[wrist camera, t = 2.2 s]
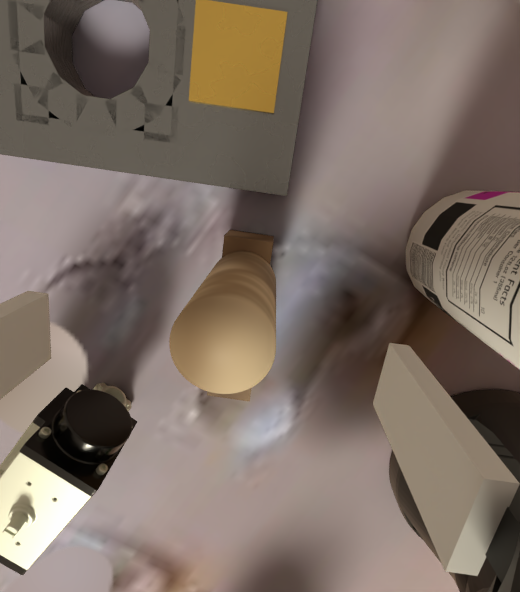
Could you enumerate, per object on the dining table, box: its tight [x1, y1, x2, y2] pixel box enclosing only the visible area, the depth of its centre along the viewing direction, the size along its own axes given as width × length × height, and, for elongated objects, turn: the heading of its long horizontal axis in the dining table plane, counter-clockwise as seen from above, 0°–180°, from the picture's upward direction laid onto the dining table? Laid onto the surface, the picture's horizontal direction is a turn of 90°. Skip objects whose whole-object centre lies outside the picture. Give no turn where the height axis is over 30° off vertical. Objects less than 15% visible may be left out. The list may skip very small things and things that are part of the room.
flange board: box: [0, 0, 317, 196], centre depth 22 cm, size 20×14×3 cm
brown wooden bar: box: [207, 230, 274, 401], centre depth 27 cm, size 3×12×3 cm, turn 172°
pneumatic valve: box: [0, 383, 137, 575], centre depth 26 cm, size 6×12×12 cm, turn 141°
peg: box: [170, 251, 276, 394], centre depth 20 cm, size 4×4×10 cm
